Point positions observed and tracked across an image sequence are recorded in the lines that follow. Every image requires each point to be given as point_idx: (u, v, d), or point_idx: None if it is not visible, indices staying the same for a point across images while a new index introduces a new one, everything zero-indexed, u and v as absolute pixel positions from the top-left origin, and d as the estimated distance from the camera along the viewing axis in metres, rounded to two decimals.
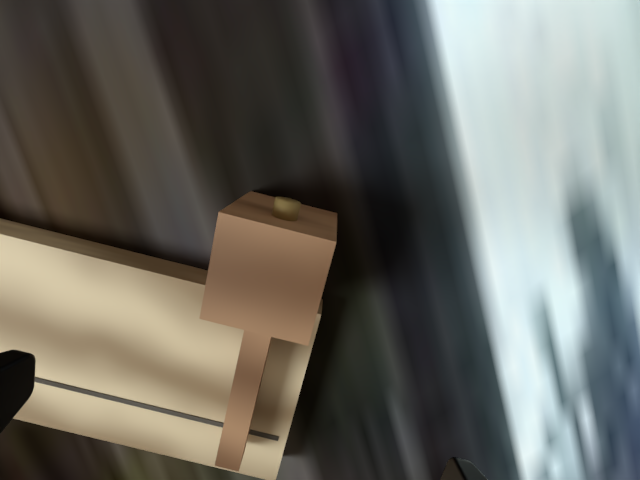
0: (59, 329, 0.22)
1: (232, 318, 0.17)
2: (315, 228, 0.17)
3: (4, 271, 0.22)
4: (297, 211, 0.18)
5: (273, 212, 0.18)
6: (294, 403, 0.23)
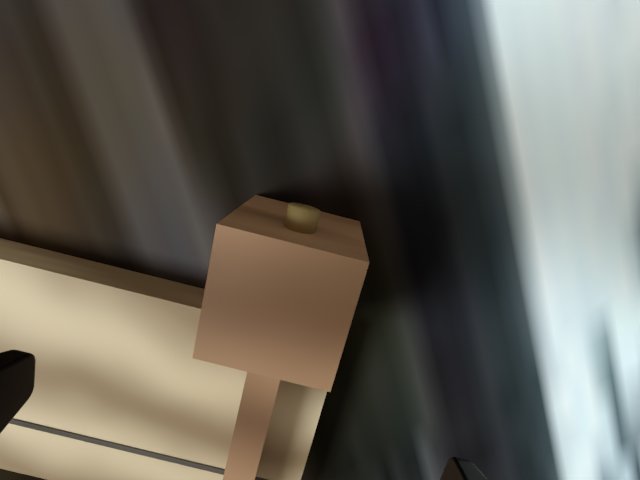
0: None
1: (234, 357, 0.14)
2: (339, 243, 0.14)
3: None
4: (316, 221, 0.14)
5: (286, 222, 0.14)
6: (307, 447, 0.19)
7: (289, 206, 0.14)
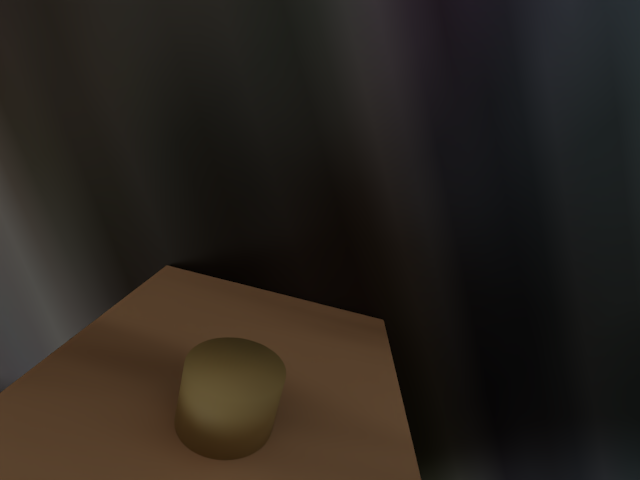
0: None
1: None
2: None
3: None
4: (271, 413, 0.04)
5: (177, 417, 0.04)
6: None
7: (185, 372, 0.04)
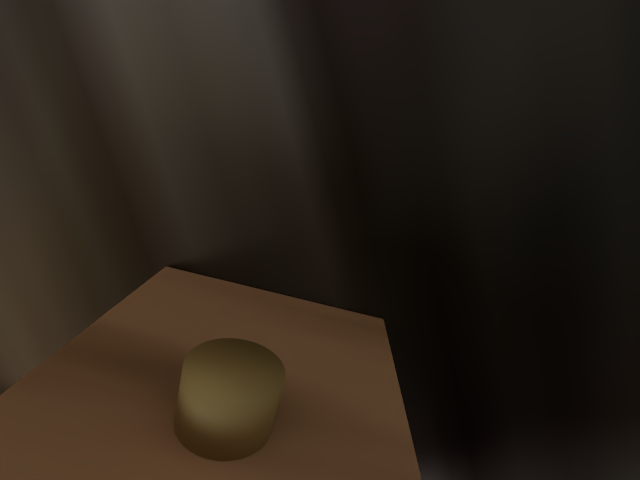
0: None
1: None
2: None
3: None
4: (270, 414, 0.04)
5: (177, 418, 0.04)
6: None
7: (183, 373, 0.04)
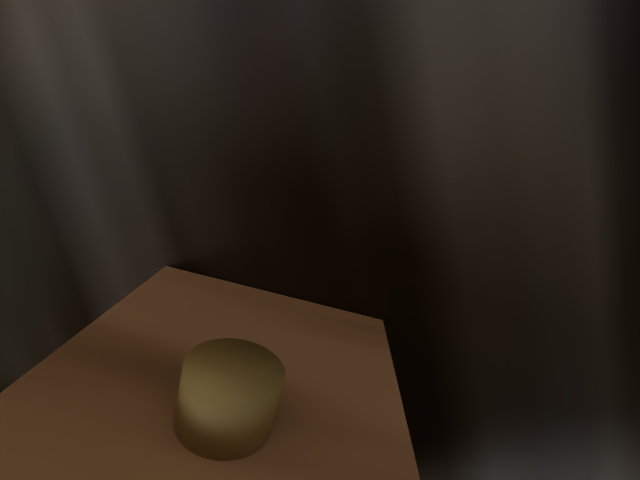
0: None
1: None
2: None
3: None
4: (270, 414, 0.04)
5: (176, 418, 0.04)
6: None
7: (183, 372, 0.04)
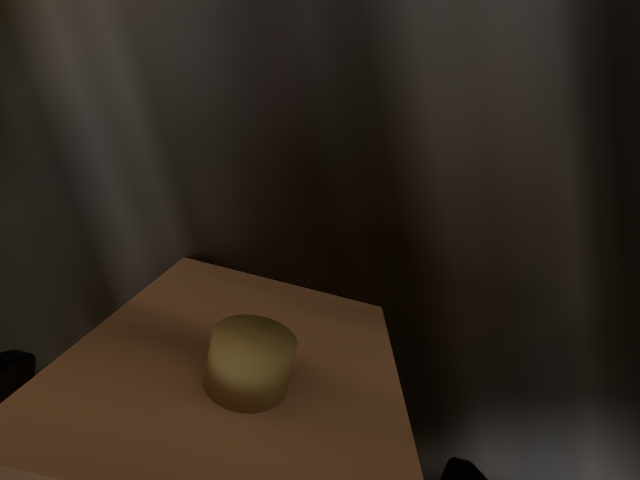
0: None
1: None
2: (346, 442, 0.05)
3: None
4: (285, 376, 0.05)
5: (206, 379, 0.05)
6: None
7: (213, 340, 0.05)
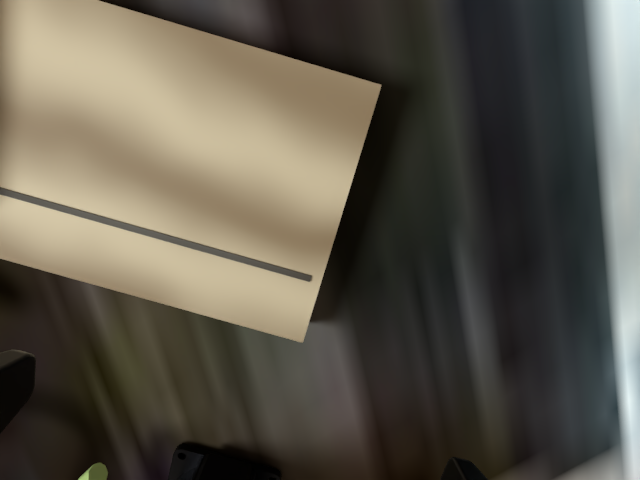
0: (18, 108, 0.16)
1: None
2: None
3: None
4: None
5: None
6: (335, 226, 0.17)
7: None
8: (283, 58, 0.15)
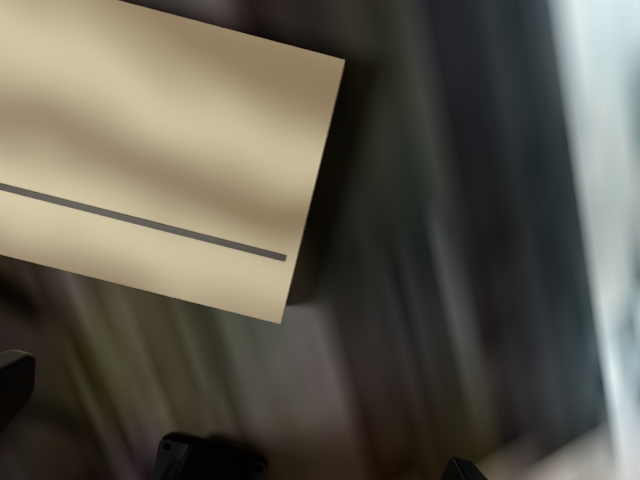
0: None
1: None
2: None
3: None
4: None
5: None
6: (306, 203, 0.17)
7: None
8: (246, 36, 0.15)
